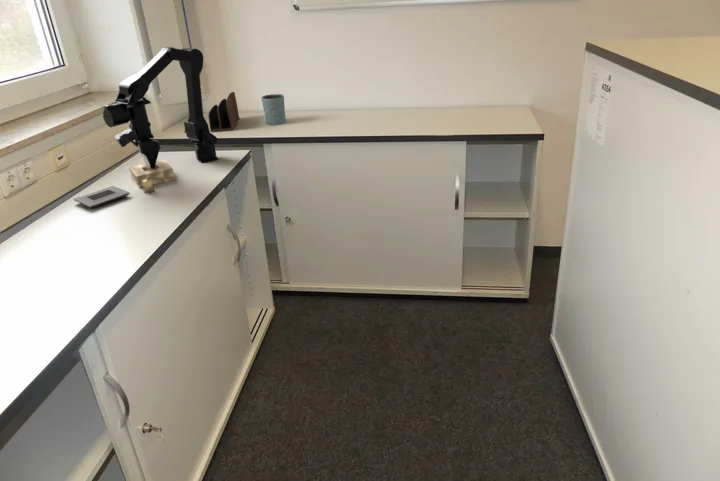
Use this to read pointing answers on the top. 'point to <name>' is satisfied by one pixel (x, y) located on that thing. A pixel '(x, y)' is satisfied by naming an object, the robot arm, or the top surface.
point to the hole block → (152, 173)
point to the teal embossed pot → (274, 109)
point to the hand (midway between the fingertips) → (149, 164)
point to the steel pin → (146, 163)
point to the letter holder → (224, 115)
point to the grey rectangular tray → (101, 196)
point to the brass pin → (148, 185)
